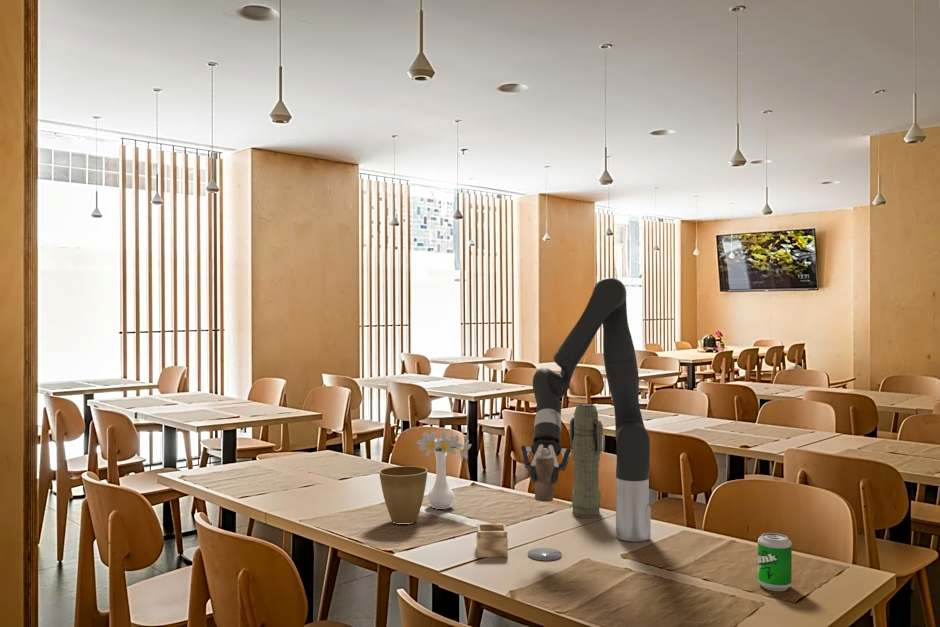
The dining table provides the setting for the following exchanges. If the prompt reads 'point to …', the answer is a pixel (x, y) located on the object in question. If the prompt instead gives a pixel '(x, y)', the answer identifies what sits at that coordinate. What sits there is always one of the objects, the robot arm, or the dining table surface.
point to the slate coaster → (544, 554)
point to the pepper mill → (544, 476)
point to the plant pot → (403, 491)
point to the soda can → (774, 561)
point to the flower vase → (441, 466)
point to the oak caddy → (492, 540)
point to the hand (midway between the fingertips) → (544, 481)
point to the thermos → (586, 459)
